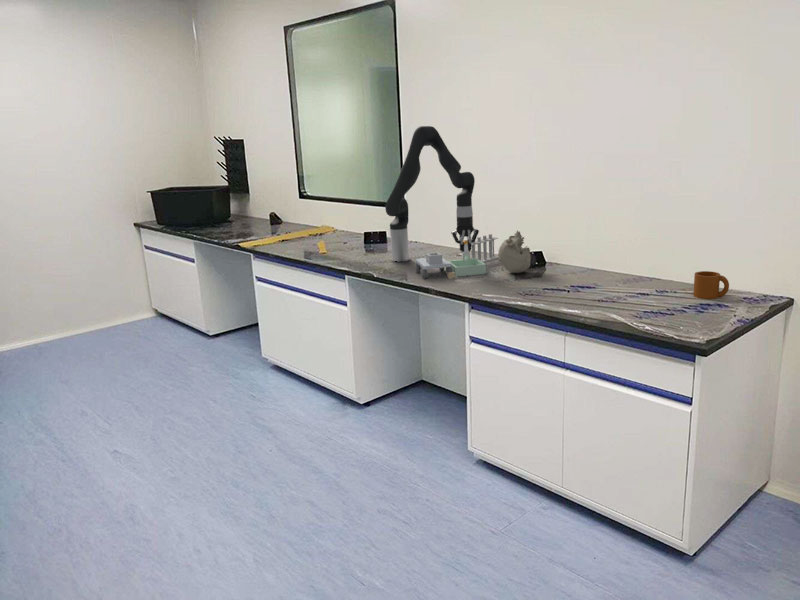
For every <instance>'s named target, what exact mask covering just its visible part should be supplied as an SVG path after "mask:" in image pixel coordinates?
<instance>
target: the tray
mask: <svg viewBox="0 0 800 600" xmlns="http://www.w3.org/2000/svg"><path fill="white" fill-rule="evenodd" d="M447 261H448V262H450V263H451V268H452V272H454V273H455V278H457V277H458V276H459V277H466V276H467V275H468V276H474V275H475V276H476V275H482V274H483V275H486V274H487V263H486V262H485V263H483V262H482V261H480V260H478V257H475V258H472V257H471V258H470V259H469V262H463V258H462V259H455V260H454V259H453V260H447Z"/></svg>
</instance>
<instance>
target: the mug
mask: <svg viewBox="0 0 800 600" xmlns="http://www.w3.org/2000/svg"><path fill="white" fill-rule="evenodd" d="M693 280H694V281H693V293H692V295H693V297H694V298H696V297H697V298H696V299H701V300H715V299H718V298H722V297H724V296H726V295H727V293H728V292H729V289H730V283H729V280H728V278H727V277H726V276H724V275H721V273H720V272H717V271H709V270H705V271H704V270H702V271H696V272H694V279H693ZM721 282H722V283H723V289H722V290H720V283H721Z"/></svg>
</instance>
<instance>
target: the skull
mask: <svg viewBox="0 0 800 600" xmlns="http://www.w3.org/2000/svg"><path fill="white" fill-rule="evenodd" d="M524 240H525V236H523V235H522V234H521V231H518V230H516V231H515V233H514V235H511V236H509V237H508V238H507V239H504V240H503V242H502V243H501V244H500V246H499V248H498V256H497V257H498V260H499V262H500V264H501V265H502V267H503V269H504V270H506V271H508V272H509V273H511V274H521V273H523V272H525V271H526V270H528V269H529V268H530V267H531V249H530V247H528V245H527V246H525V247H523V244H524V243H525V241H524ZM524 245H525V244H524Z"/></svg>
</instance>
